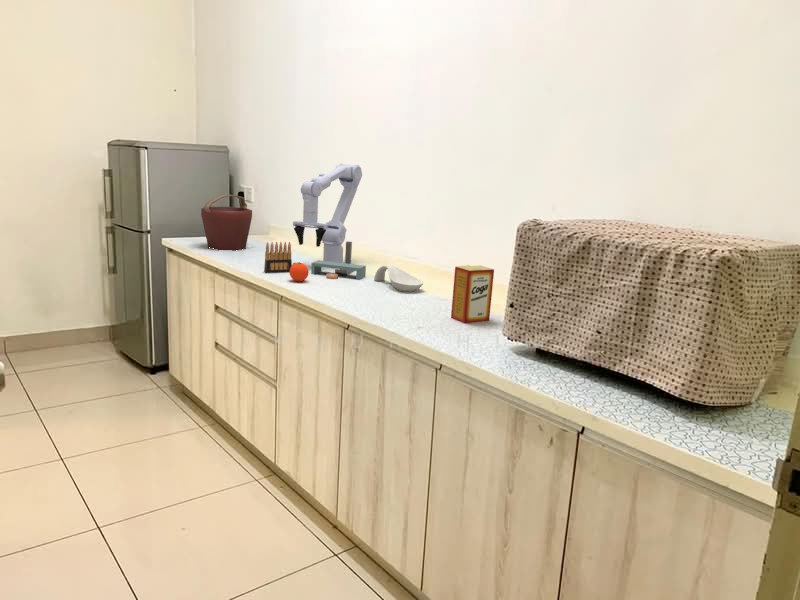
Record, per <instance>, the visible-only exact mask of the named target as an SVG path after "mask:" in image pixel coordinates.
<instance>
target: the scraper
mask: <svg viewBox="0 0 800 600" xmlns="http://www.w3.org/2000/svg"><path fill="white" fill-rule="evenodd" d="M352 246H353V242H352V241H346V242H345V255H344V262H345V263H346V264H352V253H353V252H352V251H353V250H352V248H353V247H352ZM354 272H355V271H351V270H343V269H334V274H338V276H349V275H350V274H352V273H354Z"/></svg>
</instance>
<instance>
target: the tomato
mask: <svg viewBox="0 0 800 600" xmlns="http://www.w3.org/2000/svg"><path fill="white" fill-rule="evenodd" d="M309 271H310V270H309V268H308V266H307V265H306V264H305V263H303V262H292V266H291V268H290V272H289V276H290V278H291V280H293V281H295V282H298V283H299V282H303V281H305V280H306V279H308V276H309Z"/></svg>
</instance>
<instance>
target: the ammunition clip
mask: <svg viewBox="0 0 800 600" xmlns="http://www.w3.org/2000/svg"><path fill="white" fill-rule="evenodd" d="M264 258H265V259H264V266H263V267H264V268H263V269H264V270H263V273H264V272H265V274H281V273H290V268H291V266H292V264H293V261H292V245H291V242H290V241H289V242H288V244H287V242H286V241H284V243H283V242H282V241H280V242H279V245H278V242H277V241H276V242H275V243H274V242H273V241H271V243H270V245H269V242H268V241H267V242H266V244H265V254H264Z"/></svg>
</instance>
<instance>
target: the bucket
mask: <svg viewBox="0 0 800 600" xmlns="http://www.w3.org/2000/svg"><path fill="white" fill-rule="evenodd" d="M224 197H225V198H227V197H234V198H237V199H238V202H239V207H235V206H234V207H233V206H212V205H213V204H214V203H217V201H220V200H221V199H223V198H224ZM200 210H201V213H200V214H201V215H200V216H201V220H202V224H203V229H204V233H205V240H206V243H207V248H208V247H210V248H214V249H218V250H217V251H219V250H232V251H231V252H237V251H243V250H246V247H247V244H248V243H247V242H248V238H249V233H250V228H251V224H252V220H253V210H252V209H249V208H248V204H247V203H246V198H245V197H243V196H239V195H235V194H220V195H218V196H217V195H216V197H214V198H212V199H210V200H208V201H207V202H206V203H205V205H204V207H201V208H200ZM214 249H213V250H214ZM242 249H243V250H242ZM236 250H237V251H236Z"/></svg>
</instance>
